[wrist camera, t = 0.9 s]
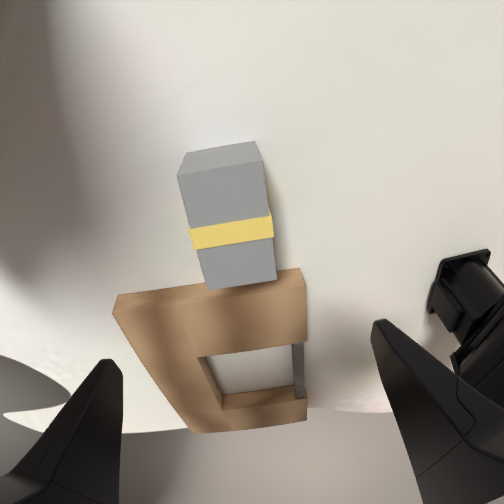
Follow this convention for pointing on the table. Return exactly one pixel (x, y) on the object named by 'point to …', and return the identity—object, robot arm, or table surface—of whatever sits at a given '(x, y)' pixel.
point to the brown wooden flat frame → (219, 347)
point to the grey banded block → (229, 214)
